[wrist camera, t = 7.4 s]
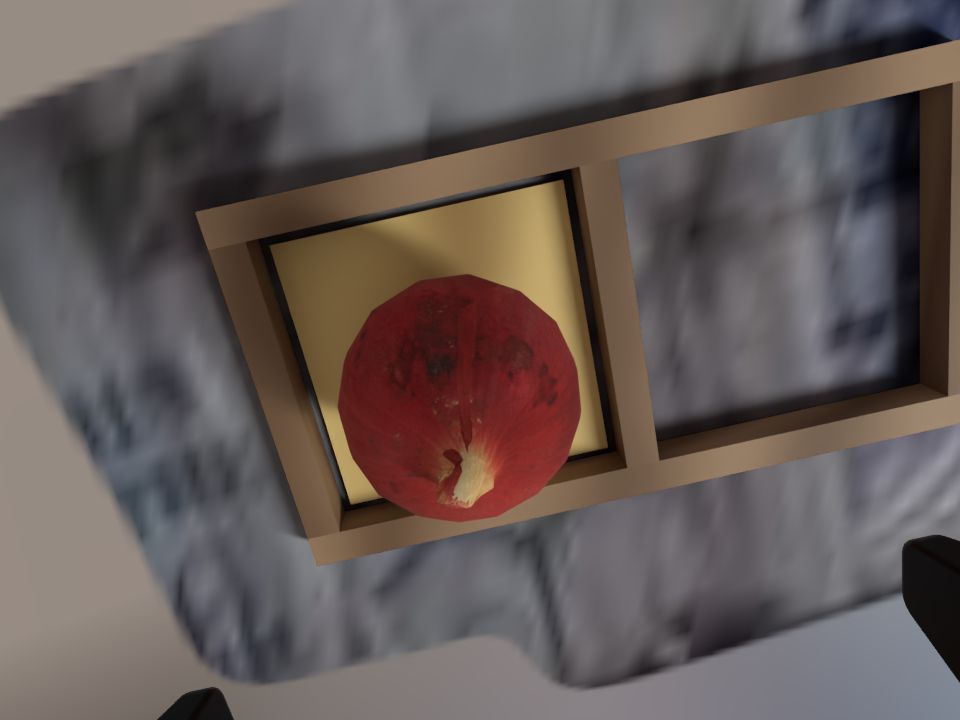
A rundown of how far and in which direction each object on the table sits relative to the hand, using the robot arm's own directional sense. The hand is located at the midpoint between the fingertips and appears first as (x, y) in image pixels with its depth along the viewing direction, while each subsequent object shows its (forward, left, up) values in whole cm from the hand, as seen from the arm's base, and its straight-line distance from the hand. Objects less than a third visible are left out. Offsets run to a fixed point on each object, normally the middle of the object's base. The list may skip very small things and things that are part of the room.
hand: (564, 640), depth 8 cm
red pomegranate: (+1, -1, -12) cm, 12 cm away
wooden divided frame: (-4, -1, -12) cm, 12 cm away
